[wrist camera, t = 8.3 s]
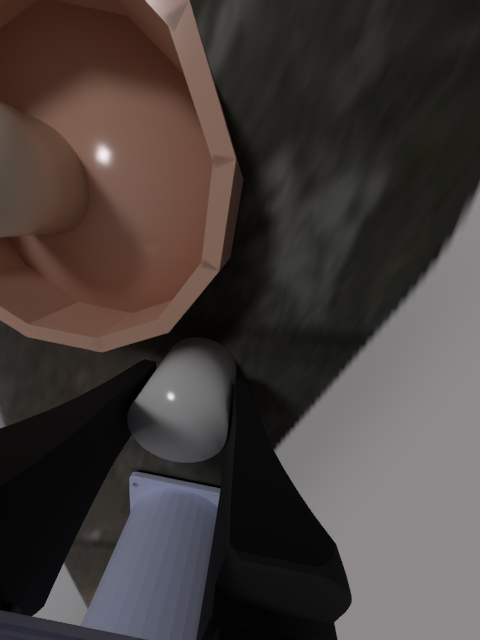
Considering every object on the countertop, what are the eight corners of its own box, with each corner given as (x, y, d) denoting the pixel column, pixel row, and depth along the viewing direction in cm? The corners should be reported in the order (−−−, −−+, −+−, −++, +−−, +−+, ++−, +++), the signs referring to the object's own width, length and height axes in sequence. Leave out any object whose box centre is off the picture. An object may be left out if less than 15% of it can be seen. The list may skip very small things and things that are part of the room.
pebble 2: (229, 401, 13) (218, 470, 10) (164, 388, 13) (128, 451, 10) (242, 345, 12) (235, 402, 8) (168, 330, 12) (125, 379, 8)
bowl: (217, 337, 11) (203, 373, 9) (5, 293, 11) (-76, 315, 9) (268, 27, 7) (275, -103, 4) (-87, -48, 7) (-320, -232, 4)
